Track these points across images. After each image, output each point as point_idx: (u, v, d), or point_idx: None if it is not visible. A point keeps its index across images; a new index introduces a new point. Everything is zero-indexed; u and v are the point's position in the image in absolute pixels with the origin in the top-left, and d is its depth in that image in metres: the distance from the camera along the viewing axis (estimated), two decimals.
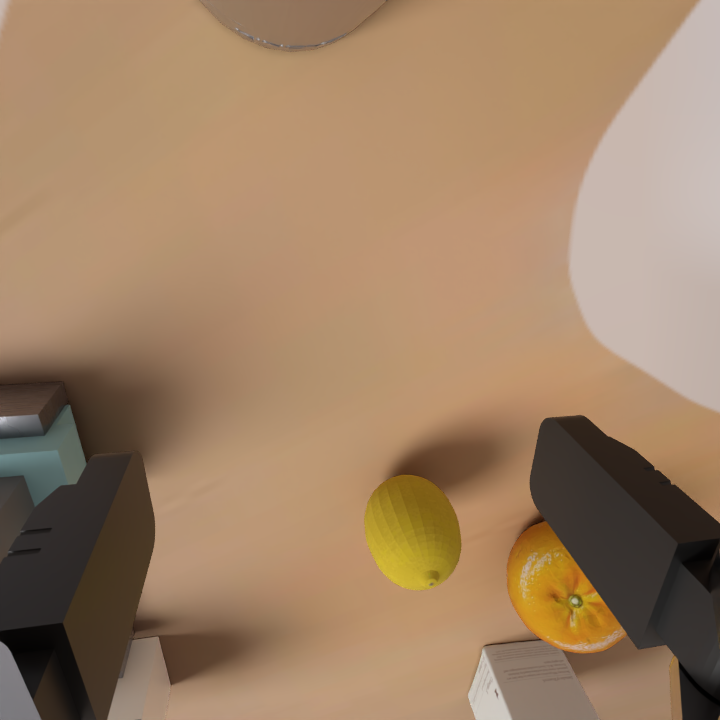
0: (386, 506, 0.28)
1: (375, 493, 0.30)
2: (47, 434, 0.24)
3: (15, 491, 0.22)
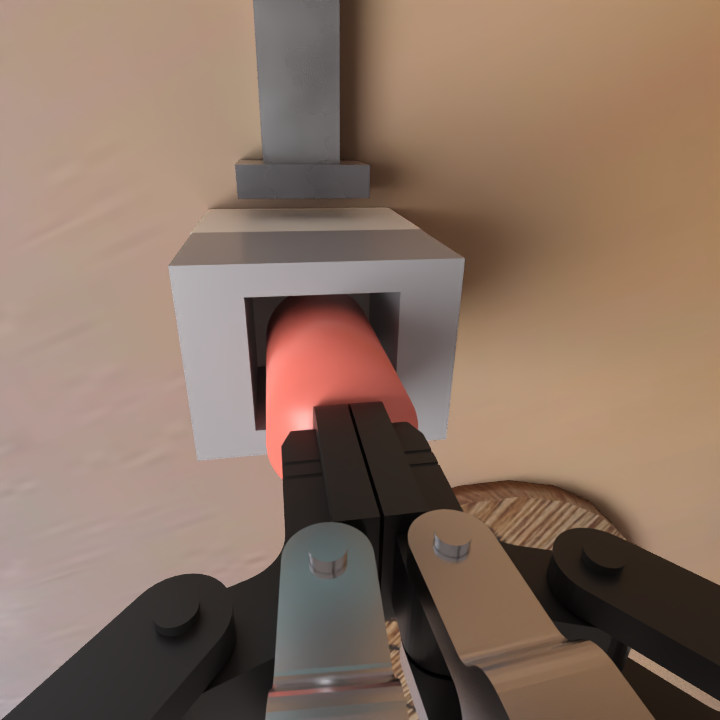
0: None
1: None
2: None
3: None
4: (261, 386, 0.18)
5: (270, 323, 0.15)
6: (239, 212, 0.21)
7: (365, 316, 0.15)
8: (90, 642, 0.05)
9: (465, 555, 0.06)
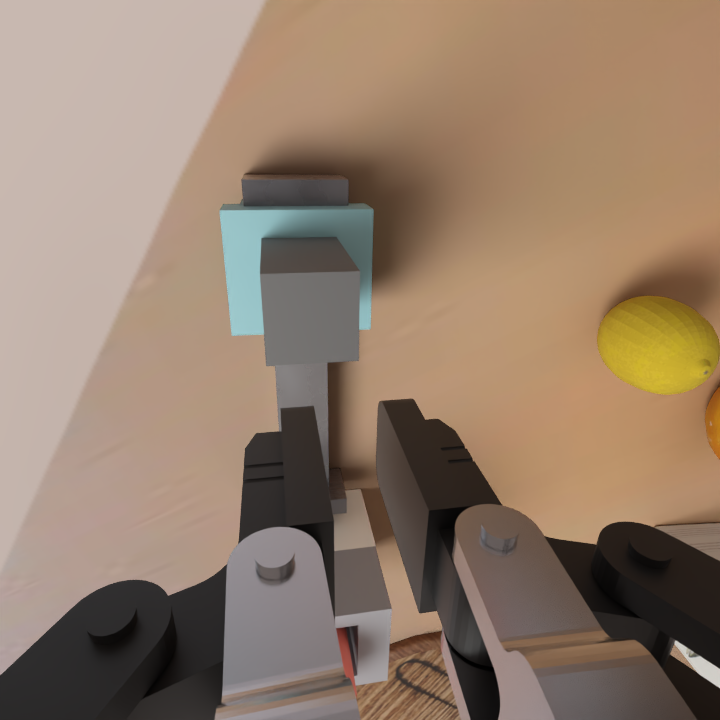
0: (640, 312, 0.28)
1: (614, 311, 0.30)
2: (349, 205, 0.24)
3: (339, 243, 0.23)
4: None
5: None
6: None
7: None
8: (20, 659, 0.05)
9: (513, 548, 0.07)
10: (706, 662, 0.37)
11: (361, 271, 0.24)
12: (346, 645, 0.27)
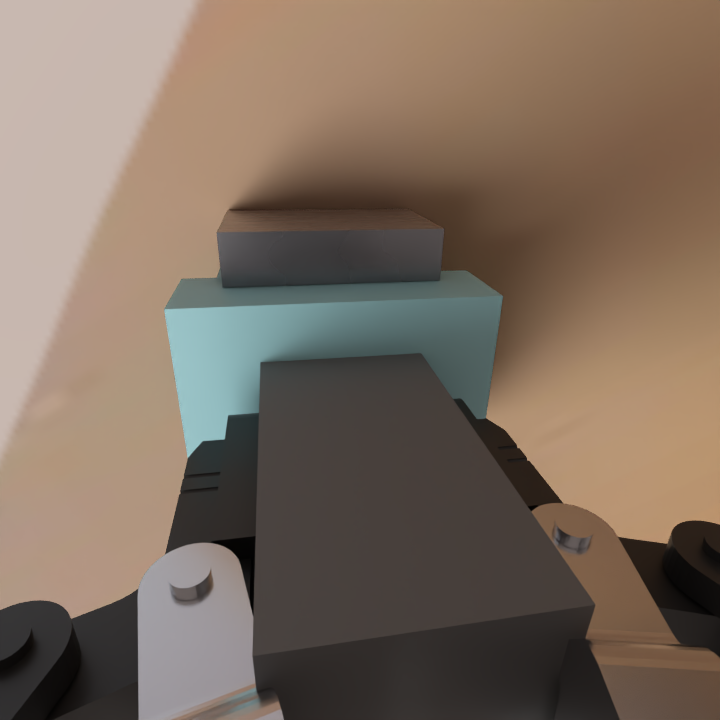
0: None
1: None
2: (442, 279, 0.12)
3: (433, 377, 0.10)
4: None
5: None
6: None
7: None
8: None
9: (590, 546, 0.07)
10: None
11: None
12: None
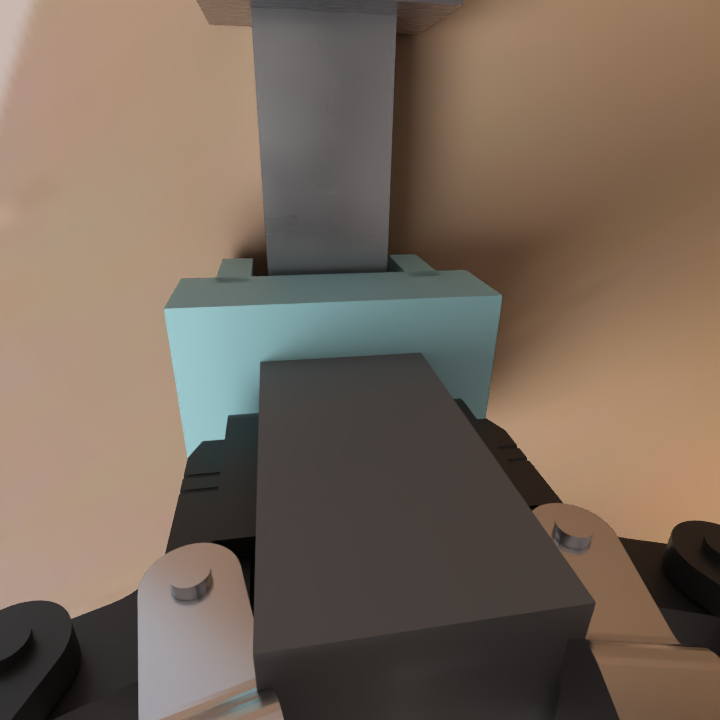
0: None
1: None
2: (441, 279, 0.12)
3: (433, 376, 0.10)
4: None
5: None
6: None
7: None
8: None
9: (590, 546, 0.07)
10: None
11: None
12: None
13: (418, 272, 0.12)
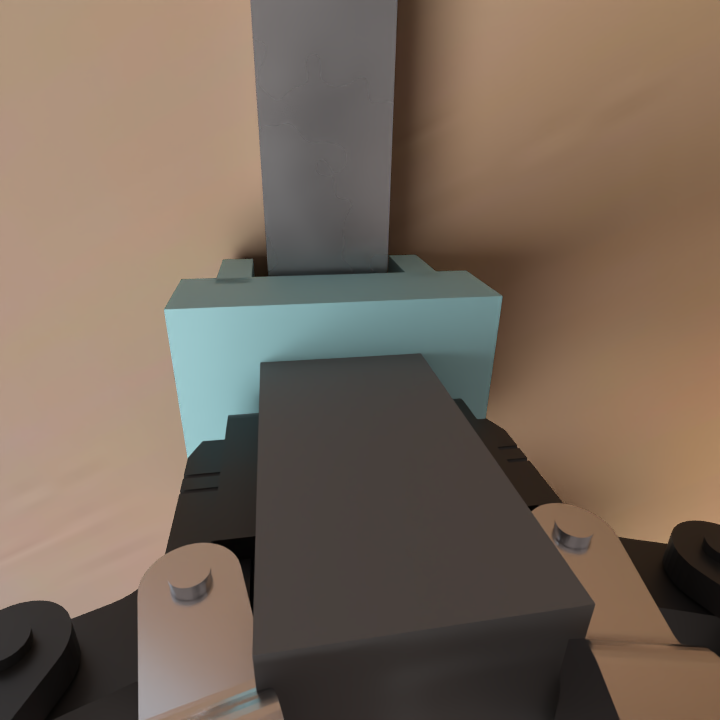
0: None
1: None
2: (441, 280, 0.12)
3: (434, 377, 0.10)
4: None
5: None
6: None
7: None
8: None
9: (590, 546, 0.07)
10: None
11: None
12: None
13: (418, 273, 0.12)
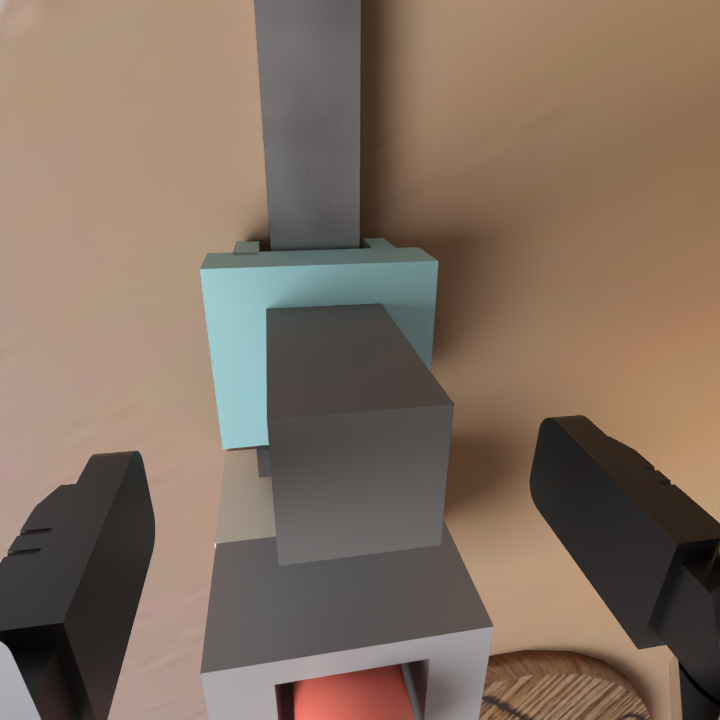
0: None
1: None
2: (398, 252, 0.16)
3: (388, 316, 0.14)
4: None
5: None
6: None
7: None
8: None
9: None
10: None
11: (416, 351, 0.16)
12: (406, 697, 0.14)
13: (382, 248, 0.17)
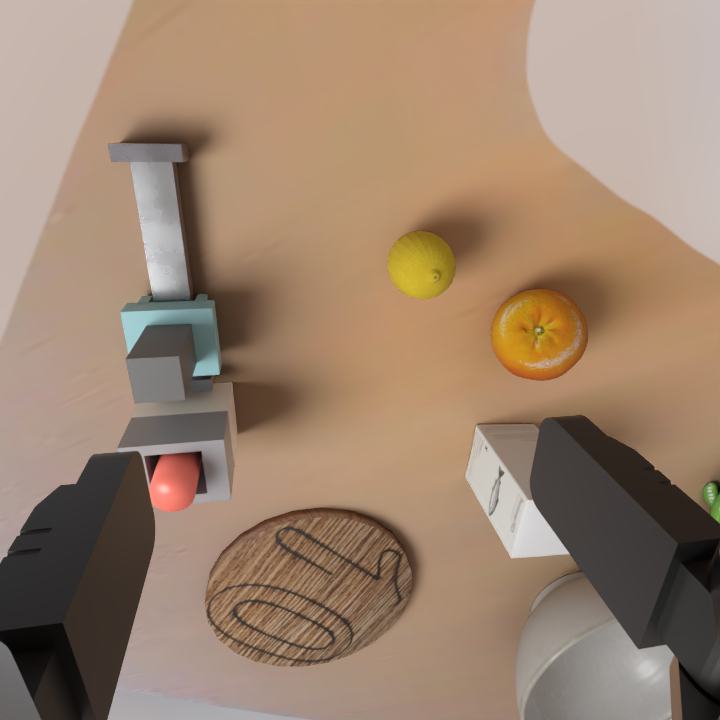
0: (403, 240, 0.41)
1: (395, 242, 0.42)
2: (202, 303, 0.41)
3: (189, 329, 0.40)
4: None
5: None
6: None
7: None
8: None
9: None
10: (496, 515, 0.50)
11: (209, 342, 0.41)
12: (194, 466, 0.39)
13: (198, 301, 0.42)
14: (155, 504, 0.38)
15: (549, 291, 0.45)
